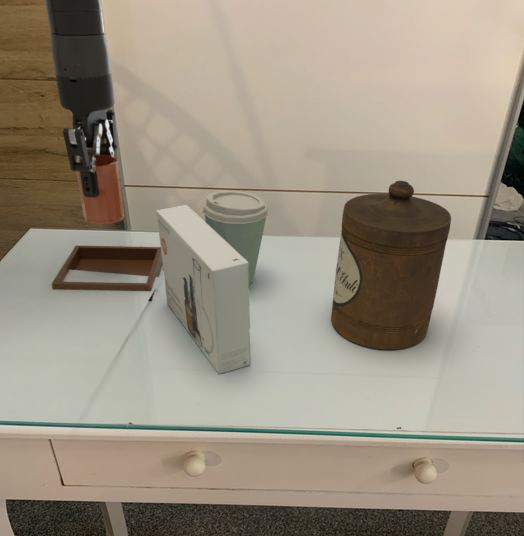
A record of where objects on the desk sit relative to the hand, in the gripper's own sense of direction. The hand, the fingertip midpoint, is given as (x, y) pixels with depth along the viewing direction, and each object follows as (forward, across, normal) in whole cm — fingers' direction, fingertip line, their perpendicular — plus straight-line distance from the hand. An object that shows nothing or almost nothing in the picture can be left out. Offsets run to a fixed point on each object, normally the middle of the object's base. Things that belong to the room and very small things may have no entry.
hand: (100, 188), depth 86 cm
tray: (+16, 0, 0) cm, 16 cm away
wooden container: (+16, +7, +45) cm, 48 cm away
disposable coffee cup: (+16, -3, +21) cm, 27 cm away
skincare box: (+16, +14, +19) cm, 28 cm away
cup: (+5, 0, 0) cm, 5 cm away
